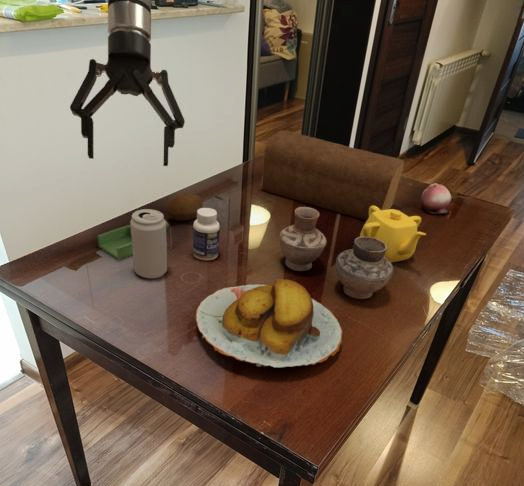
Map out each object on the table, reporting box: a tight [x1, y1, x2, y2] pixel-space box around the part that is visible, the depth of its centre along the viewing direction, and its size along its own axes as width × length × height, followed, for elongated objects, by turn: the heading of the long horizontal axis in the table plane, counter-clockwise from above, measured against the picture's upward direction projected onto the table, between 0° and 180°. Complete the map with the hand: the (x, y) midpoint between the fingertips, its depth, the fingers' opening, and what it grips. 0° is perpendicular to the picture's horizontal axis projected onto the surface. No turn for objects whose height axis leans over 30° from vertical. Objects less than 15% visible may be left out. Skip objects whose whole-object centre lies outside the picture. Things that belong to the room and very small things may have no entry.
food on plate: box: [194, 278, 344, 368], centre depth 83 cm, size 25×25×7 cm
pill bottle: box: [192, 207, 221, 262], centre depth 100 cm, size 5×5×10 cm
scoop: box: [96, 220, 169, 261], centre depth 103 cm, size 16×7×3 cm, turn 139°
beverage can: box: [129, 208, 168, 280], centre depth 92 cm, size 6×6×12 cm
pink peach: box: [420, 182, 452, 215], centre depth 131 cm, size 8×8×7 cm
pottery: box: [278, 206, 395, 300], centre depth 97 cm, size 11×25×12 cm, turn 54°
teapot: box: [359, 206, 427, 263], centre depth 108 cm, size 14×13×10 cm
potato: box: [166, 192, 204, 222], centre depth 112 cm, size 7×10×6 cm
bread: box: [261, 129, 405, 221], centre depth 127 cm, size 14×34×14 cm, turn 64°
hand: (128, 160), depth 91 cm, fingers open, 13 cm apart
